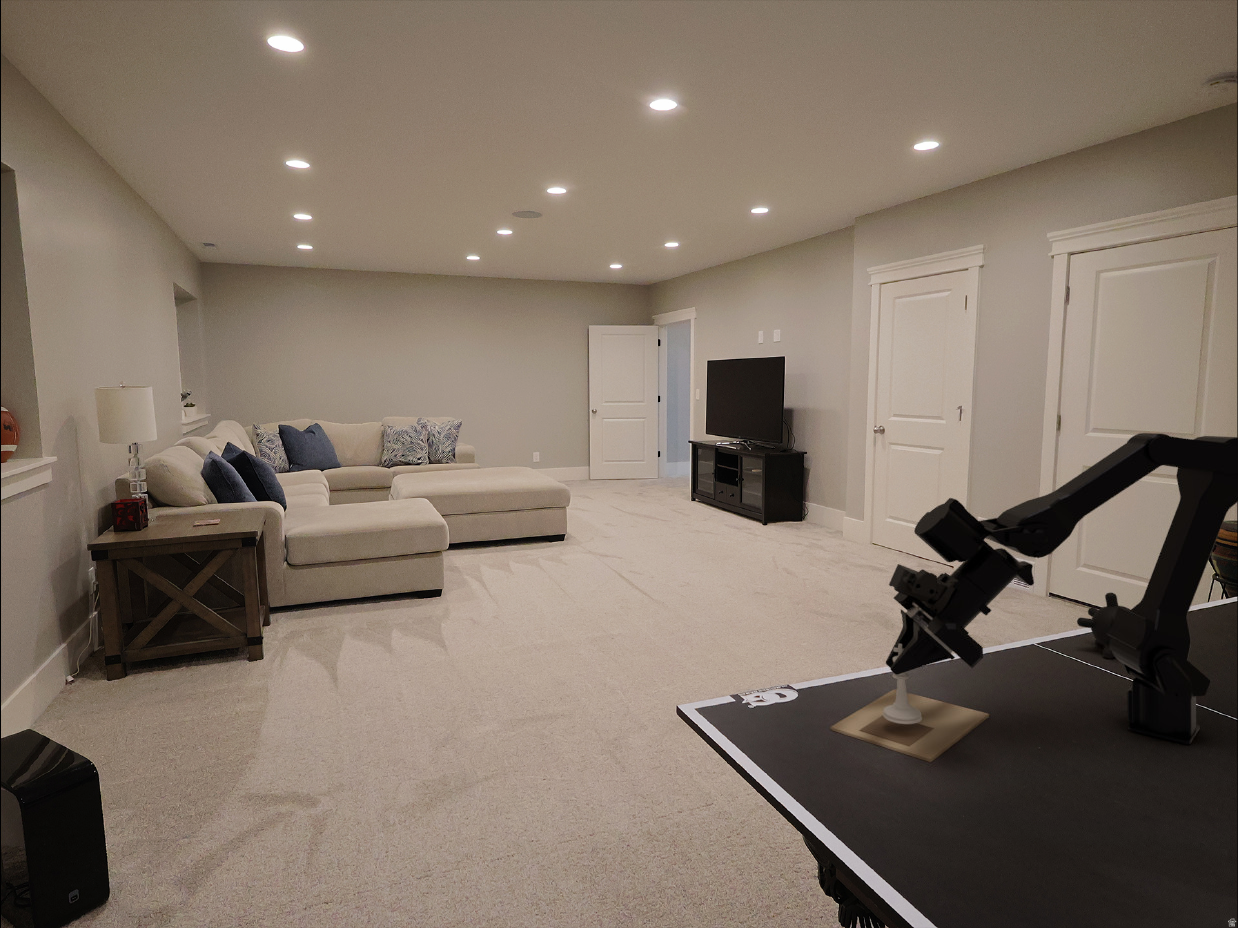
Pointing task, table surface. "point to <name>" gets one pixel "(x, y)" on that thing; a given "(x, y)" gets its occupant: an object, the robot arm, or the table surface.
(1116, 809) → the table surface
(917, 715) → the chess piece
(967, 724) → the board
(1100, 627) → the knobbed dark ball
